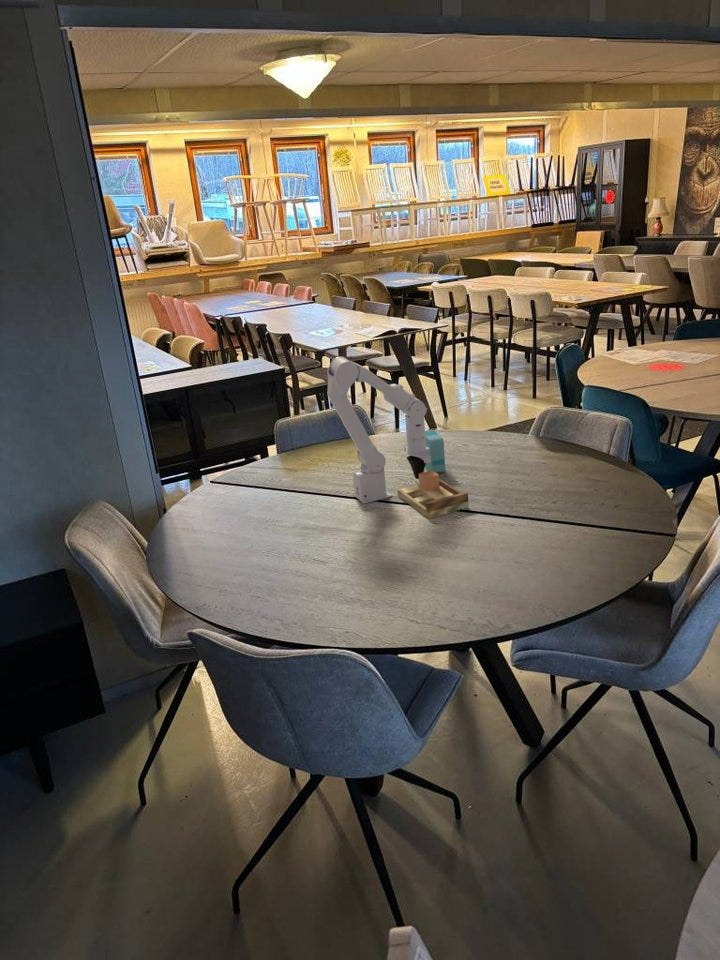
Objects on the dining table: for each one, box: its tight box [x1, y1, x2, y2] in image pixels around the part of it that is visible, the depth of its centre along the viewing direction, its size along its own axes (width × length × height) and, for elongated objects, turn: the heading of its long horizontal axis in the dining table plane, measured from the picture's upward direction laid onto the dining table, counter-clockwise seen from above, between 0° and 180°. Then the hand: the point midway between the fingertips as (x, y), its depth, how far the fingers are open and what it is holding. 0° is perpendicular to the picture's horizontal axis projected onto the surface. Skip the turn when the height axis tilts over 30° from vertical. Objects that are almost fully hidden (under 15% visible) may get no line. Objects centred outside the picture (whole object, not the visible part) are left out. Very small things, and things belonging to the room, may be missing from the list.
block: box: [418, 470, 440, 492], centre depth 204 cm, size 4×4×4 cm
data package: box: [425, 429, 446, 474], centre depth 223 cm, size 12×4×12 cm, turn 11°
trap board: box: [397, 478, 469, 519], centre depth 199 cm, size 13×20×4 cm, turn 22°
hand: (418, 477), depth 211 cm, fingers closed
